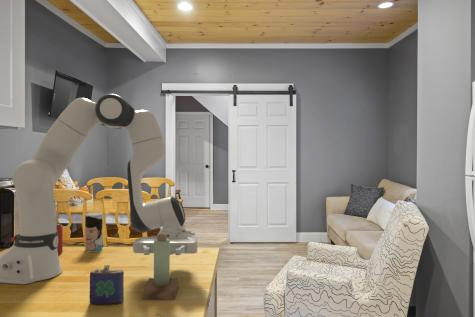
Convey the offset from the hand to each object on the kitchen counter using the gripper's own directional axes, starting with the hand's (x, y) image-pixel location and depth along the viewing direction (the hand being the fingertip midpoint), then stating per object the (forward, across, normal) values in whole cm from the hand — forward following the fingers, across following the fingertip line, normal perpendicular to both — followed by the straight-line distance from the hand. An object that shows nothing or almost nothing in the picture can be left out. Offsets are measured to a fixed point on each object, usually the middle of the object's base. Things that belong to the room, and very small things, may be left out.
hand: (162, 252), depth 111 cm
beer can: (-39, -50, +12) cm, 64 cm away
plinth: (+1, 0, +12) cm, 12 cm away
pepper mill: (+1, 0, +9) cm, 9 cm away
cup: (-45, -36, +12) cm, 59 cm away
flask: (+8, -14, +12) cm, 20 cm away
